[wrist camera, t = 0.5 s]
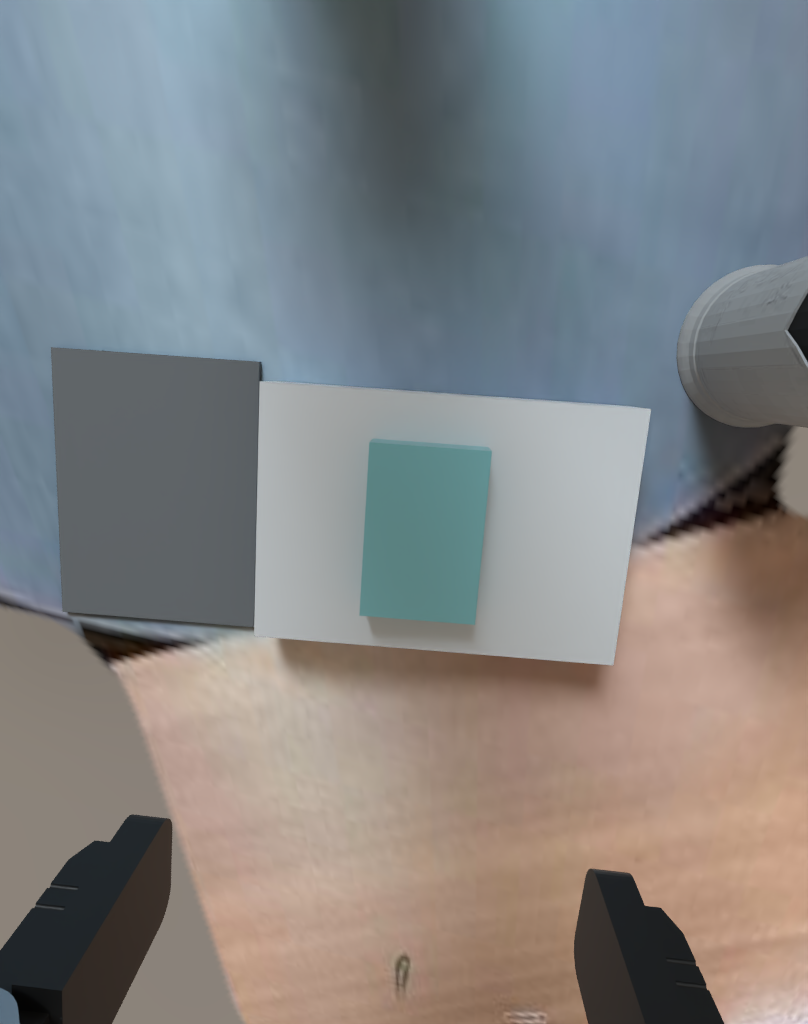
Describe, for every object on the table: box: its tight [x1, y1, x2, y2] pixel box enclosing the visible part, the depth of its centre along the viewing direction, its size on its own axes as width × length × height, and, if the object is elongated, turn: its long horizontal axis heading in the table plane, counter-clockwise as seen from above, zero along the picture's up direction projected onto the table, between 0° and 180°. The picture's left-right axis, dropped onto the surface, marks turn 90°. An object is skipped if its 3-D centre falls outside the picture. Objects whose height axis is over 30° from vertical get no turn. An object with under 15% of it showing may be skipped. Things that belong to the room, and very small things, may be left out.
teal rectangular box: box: [359, 439, 492, 625], centre depth 33 cm, size 9×6×2 cm, turn 176°
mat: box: [51, 347, 261, 627], centre depth 38 cm, size 16×12×1 cm
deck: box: [254, 381, 651, 665], centre depth 36 cm, size 14×20×4 cm
